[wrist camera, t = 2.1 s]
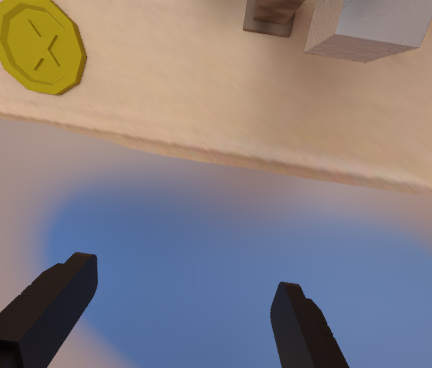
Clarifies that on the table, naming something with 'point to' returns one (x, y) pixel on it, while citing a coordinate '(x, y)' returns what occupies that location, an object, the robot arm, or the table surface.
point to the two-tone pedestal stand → (271, 16)
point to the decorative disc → (40, 46)
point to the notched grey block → (367, 28)
